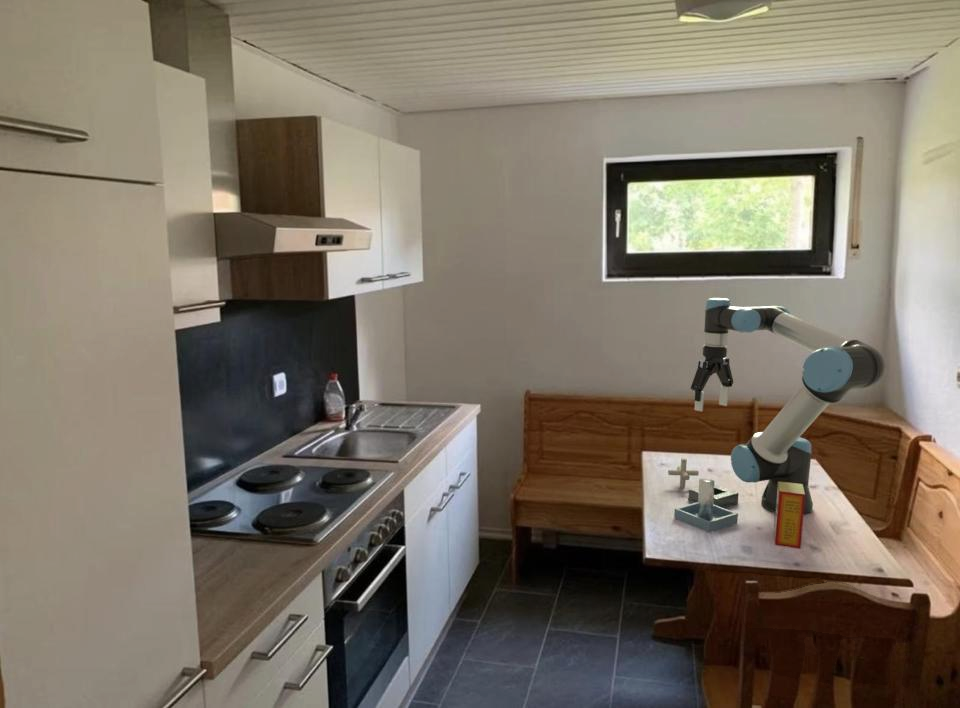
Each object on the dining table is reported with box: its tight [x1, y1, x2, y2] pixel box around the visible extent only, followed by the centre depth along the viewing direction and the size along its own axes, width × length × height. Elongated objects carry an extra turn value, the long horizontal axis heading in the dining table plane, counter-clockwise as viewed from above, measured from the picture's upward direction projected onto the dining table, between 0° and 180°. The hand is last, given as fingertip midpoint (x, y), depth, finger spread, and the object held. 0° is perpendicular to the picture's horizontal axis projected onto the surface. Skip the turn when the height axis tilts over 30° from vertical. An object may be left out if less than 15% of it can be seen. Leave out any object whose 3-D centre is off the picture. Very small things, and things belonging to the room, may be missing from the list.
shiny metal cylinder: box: [697, 477, 715, 521], centre depth 218 cm, size 4×4×12 cm
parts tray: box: [673, 502, 739, 534], centre depth 219 cm, size 13×13×3 cm
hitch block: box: [687, 484, 740, 508], centre depth 236 cm, size 11×11×4 cm
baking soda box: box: [773, 481, 805, 550], centre depth 204 cm, size 10×6×16 cm
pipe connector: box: [667, 457, 700, 489], centre depth 249 cm, size 10×10×10 cm
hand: (710, 407), depth 242 cm, fingers open, 13 cm apart
